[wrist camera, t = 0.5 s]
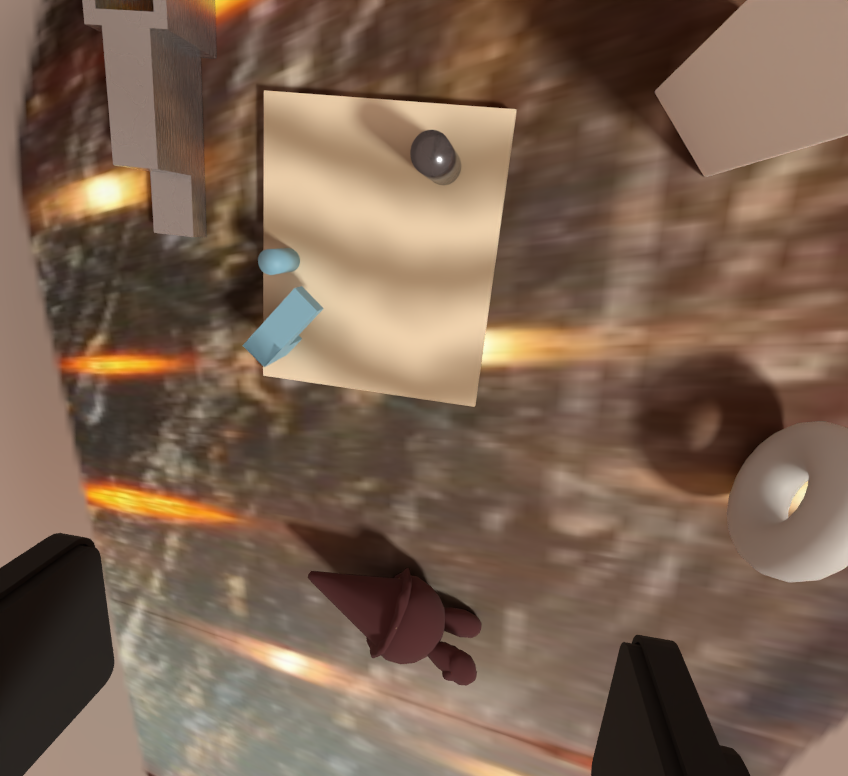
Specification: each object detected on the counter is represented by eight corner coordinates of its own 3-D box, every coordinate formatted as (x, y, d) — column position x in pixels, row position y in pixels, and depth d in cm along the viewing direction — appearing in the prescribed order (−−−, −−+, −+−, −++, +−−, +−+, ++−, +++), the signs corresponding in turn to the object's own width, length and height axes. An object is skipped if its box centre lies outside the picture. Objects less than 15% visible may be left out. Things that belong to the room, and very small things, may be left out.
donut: (779, 391, 33) (885, 452, 24) (827, 412, 33) (953, 482, 24) (695, 509, 37) (760, 604, 27) (739, 529, 37) (819, 631, 27)
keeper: (295, 242, 36) (263, 243, 31) (346, 296, 36) (323, 305, 32) (244, 301, 38) (207, 310, 33) (293, 351, 38) (264, 367, 34)
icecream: (277, 638, 38) (452, 715, 39) (304, 589, 34) (498, 677, 35) (311, 563, 44) (463, 632, 45) (338, 514, 40) (504, 591, 41)
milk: (652, 92, 30) (976, -243, 9) (753, 15, 28) (1452, -627, 7) (704, 180, 31) (1112, 60, 10) (806, 111, 29) (1570, -216, 8)
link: (138, -40, 32) (74, -88, 27) (214, -37, 31) (162, -85, 27) (154, 231, 37) (103, 230, 32) (220, 238, 37) (177, 239, 32)
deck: (272, 95, 33) (263, 90, 32) (516, 113, 31) (516, 109, 30) (270, 371, 39) (263, 375, 38) (475, 401, 37) (474, 406, 36)
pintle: (428, 146, 31) (412, 128, 26) (463, 149, 31) (454, 131, 26) (424, 183, 32) (408, 173, 27) (458, 187, 32) (449, 177, 27)
